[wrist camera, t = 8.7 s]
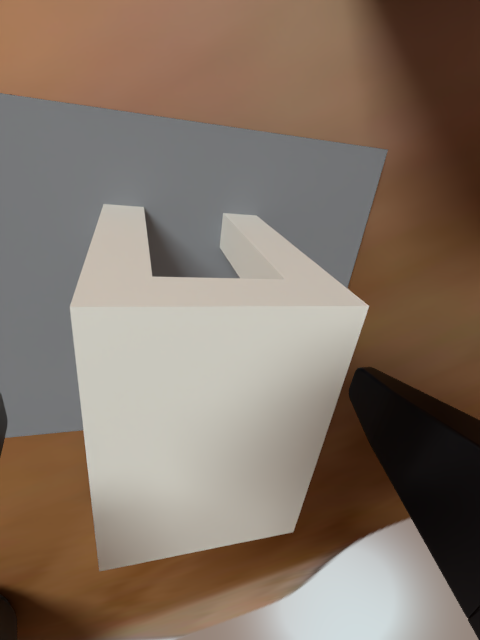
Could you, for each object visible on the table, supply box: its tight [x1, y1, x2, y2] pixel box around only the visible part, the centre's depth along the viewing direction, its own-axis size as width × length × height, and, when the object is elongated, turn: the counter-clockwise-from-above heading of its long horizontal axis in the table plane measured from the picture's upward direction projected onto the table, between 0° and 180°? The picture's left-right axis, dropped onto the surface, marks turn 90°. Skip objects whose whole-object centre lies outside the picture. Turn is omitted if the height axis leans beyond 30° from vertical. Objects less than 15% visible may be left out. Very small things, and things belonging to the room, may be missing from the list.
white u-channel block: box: [70, 204, 369, 571], centre depth 10 cm, size 5×7×7 cm
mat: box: [0, 93, 388, 438], centre depth 13 cm, size 14×12×1 cm
